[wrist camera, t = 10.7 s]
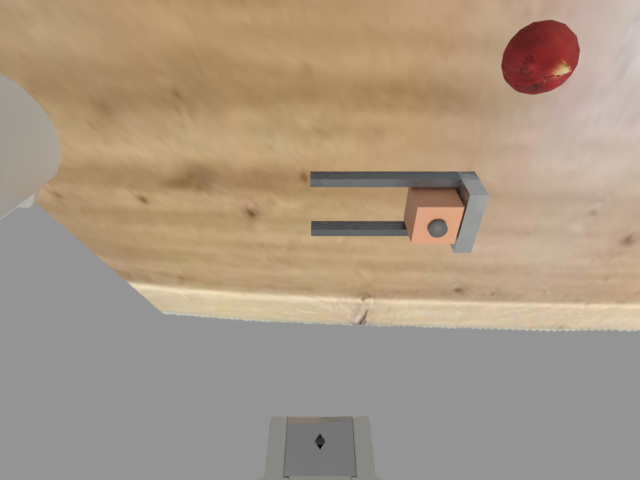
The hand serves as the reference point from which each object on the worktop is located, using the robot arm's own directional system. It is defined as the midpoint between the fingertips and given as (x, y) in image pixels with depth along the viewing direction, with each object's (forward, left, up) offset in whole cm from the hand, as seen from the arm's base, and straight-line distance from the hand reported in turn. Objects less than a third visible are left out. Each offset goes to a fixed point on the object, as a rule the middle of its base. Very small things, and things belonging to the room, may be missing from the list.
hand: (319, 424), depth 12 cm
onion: (+19, +3, -34) cm, 39 cm away
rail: (+8, -14, -34) cm, 38 cm away
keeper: (+13, -14, -34) cm, 39 cm away
